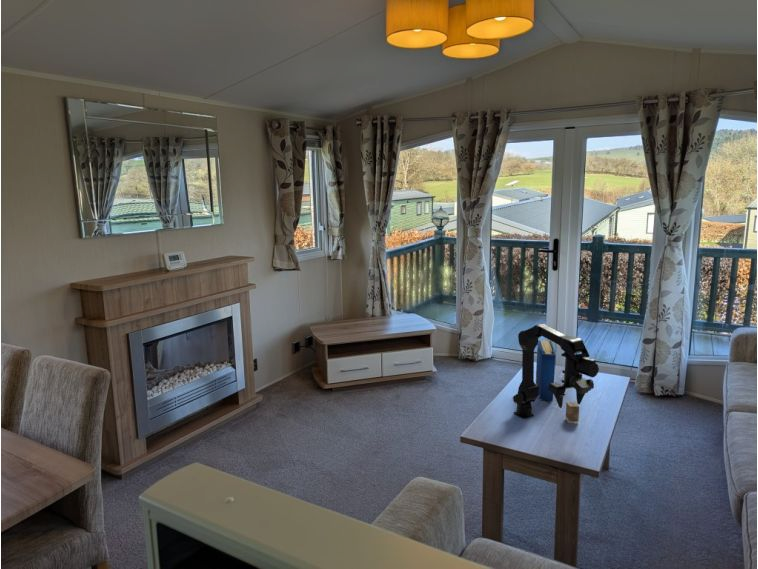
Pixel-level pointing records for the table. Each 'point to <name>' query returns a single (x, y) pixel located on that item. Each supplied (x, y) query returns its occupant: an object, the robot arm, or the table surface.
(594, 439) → the table surface
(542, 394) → the book
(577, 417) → the brown rectangular block
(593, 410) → the table surface
